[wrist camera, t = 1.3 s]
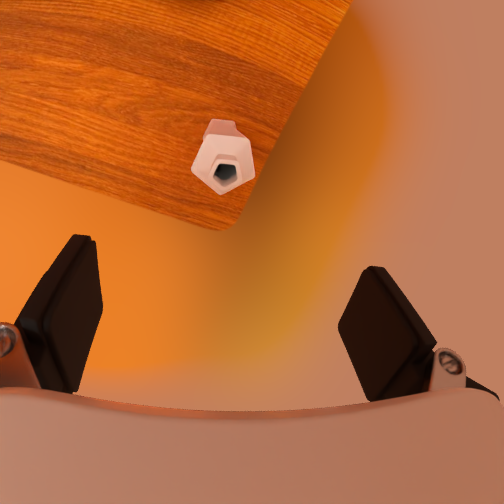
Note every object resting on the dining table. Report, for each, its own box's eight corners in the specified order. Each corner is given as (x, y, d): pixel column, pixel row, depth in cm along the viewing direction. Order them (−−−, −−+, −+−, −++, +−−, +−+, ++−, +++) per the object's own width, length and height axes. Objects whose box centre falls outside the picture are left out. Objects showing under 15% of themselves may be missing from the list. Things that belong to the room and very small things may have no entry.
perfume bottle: (231, 161, 33) (243, 219, 20) (195, 146, 31) (181, 194, 19) (250, 125, 31) (277, 158, 18) (213, 108, 29) (211, 128, 17)
